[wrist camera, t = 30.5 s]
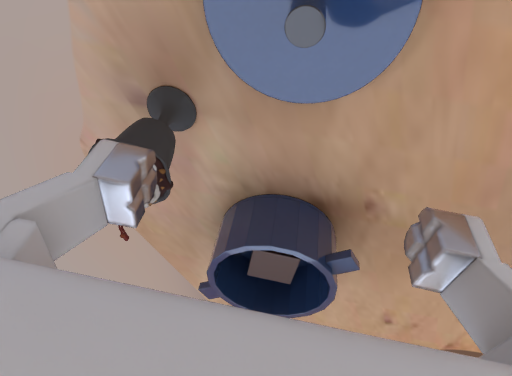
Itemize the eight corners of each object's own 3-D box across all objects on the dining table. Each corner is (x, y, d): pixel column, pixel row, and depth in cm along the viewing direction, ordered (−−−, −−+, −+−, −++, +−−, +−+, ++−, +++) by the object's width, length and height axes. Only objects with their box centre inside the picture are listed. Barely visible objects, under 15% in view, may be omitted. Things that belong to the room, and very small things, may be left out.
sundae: (200, 145, 36) (146, 263, 26) (137, 125, 36) (56, 238, 25) (211, 91, 32) (152, 206, 21) (140, 67, 31) (41, 173, 21)
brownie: (302, 229, 42) (300, 259, 39) (292, 255, 46) (290, 284, 43) (258, 219, 42) (253, 249, 39) (252, 246, 46) (246, 275, 43)
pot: (373, 251, 44) (380, 305, 38) (243, 279, 53) (234, 326, 47) (326, 170, 36) (326, 224, 31) (183, 219, 45) (164, 267, 40)
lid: (446, 44, 26) (468, 76, 22) (271, 123, 33) (263, 158, 29) (376, -221, 18) (391, -245, 14) (164, -42, 25) (132, -24, 21)
